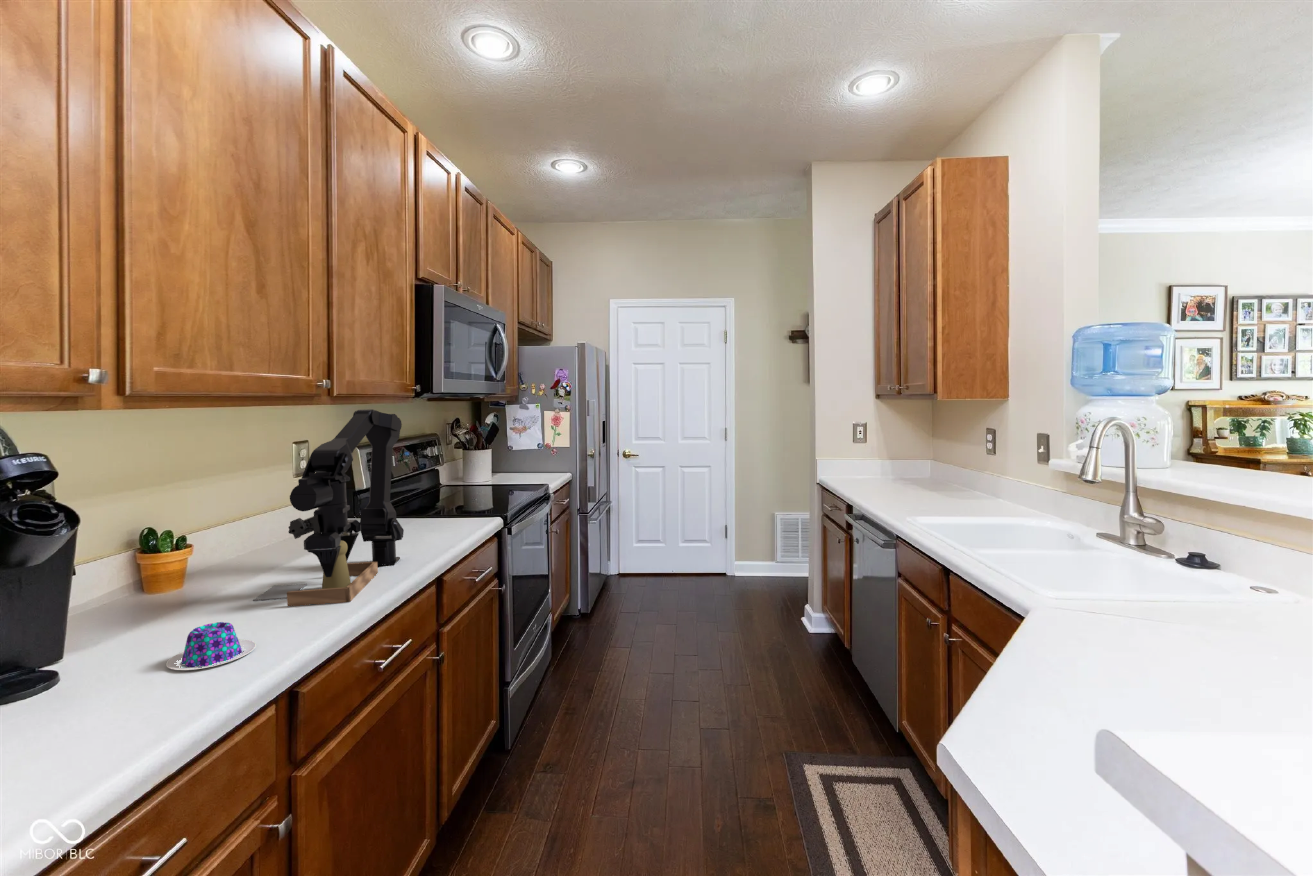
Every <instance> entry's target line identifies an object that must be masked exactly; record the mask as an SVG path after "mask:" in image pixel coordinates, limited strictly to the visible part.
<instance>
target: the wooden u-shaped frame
mask: <svg viewBox="0 0 1313 876" xmlns="http://www.w3.org/2000/svg"><path fill="white" fill-rule="evenodd" d="M347 566H348V571H349V576H350V577H355V579H353V580H352V581H351V583H350V584H349V585H348V586H347V587H343V588H329V589H322V588H318V589H317V588H316V589H303V590H302V589H301V590H299V591H288V592H287V599H286V603H287V605H286V606H287V607H288V606H290V607H301V606H300V605H303V606H310V605H309V604H317V605H326V604H325V603H330V604H338V603H339V604H342V603H350V602H351V601H353V600H354V598H356V597H357V595H358V594H359V593H361V591H362V590H363V589H364V588H365V587H366V586H367V585H368V584H369V583H370V582H372V580H373V579H374V578H375V577H376V576H377V575H378V574H379V571H378V570H379V569H378V568H379V567H378V564H377V562H371V561H367V562H352V563H351V562H350V563H349V562H347ZM377 573H378V574H377ZM376 574H377V575H376ZM374 576H375V577H374ZM371 579H372V580H371Z"/></svg>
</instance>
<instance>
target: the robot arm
mask: <svg viewBox="0 0 1313 876" xmlns="http://www.w3.org/2000/svg"><path fill="white" fill-rule="evenodd" d="M402 425H403V424H402V420H401V418H400V417H398V415H397V414H395V413H385V412H381V411H378V410H375V409H370V408H369V409H357V410H355V411H354V412H353V415H352V417H351V418H350V420H348V421H347V423H346V424H345V425H344V426H343V427H342V429H341V430H340V431H339V432H338V433H337V434H336V435H335V437H333V439H331V440H329V441H327V442H324V443H321V444H320V445H318V446H317V447H316V448H314V449H313V451H312V452H311V453H310V456H309V458H308V460H307V464H306V466H305V468H304V471H303V473H302V476H301V478H299V479H298V481H297V482H298V484H297V485H296V486H295V487H293V489H292V490H291V492H290V495H289V501H290V504H291V506H292V507H293V508H294V509H295V510H297V511H300V512H309V511H311V510H314V511H313V515H312V516H311V517H308V518H305V519H303V518H301V517H298V518H296V519H292V520H291V521H289V526H288V529H289V530H288V532H287V533H288V534H289V535H293V538H294V539H295V540H297V539H299V538H301V537H302V536H304V535H307V534H309V533H312V532H313V533H312V534H310V535H308V536H307V537H306V538H305V539H304V540H303V550H304V551H307V552H308V553H311V554H313V555H314V556H316V557H317V560H318V561H319V564H320V566H321V569H322V571H324V574H325V576H326V577H331V576H332V574H333V571H334V568H335V564H336V561H337V558H338V554H339V551H340V548H341V546H339V545H340V542H341V540H342V541H345V542H346V543H347V546H348V549H347V552H346V554H345V556H346V561H347V562H348V559H349V557H350V555H351V552H352V550H353V547H354V545H355V543H356V541H357V538H358V536H359V535H360V534H361V538H362V540H363V542H364V543H365V542H371V555H372V556H371V557H372V558H371V559H372V560H371V561H370V562H377V564H378V566H391V565H392V566H393V565H396V564H395V563H397V562H399V560H401V557H400V556H397V548H396V541H401V540H403V538H404V533H405V532H404V528H403V526H402V525H401V524H400V522H399V521H398V519H397V511H396V510H395V507H394V506H393V504H392V503H391V486H392V485H391V484H392V467H393V466H392V463H393V462H392V461H393V449H394V448H393V447H394V446H395V444H396V443H397V442H398V440H399V439H400V436H401V435H400V434H401V429H402ZM364 438H366V439H367V440H368V443H369V444H370V445H371V460H370V461H371V462H370V463H371V464H370V484H369V502H368V504H367V505H366V507H365V508H361V510H360V513H359V515H360V521H359V520H358V519H348V518H349V517H348V511H350V510H351V506H350V505H348V502H347V501H348V500H347V482H349V481H351V477H350V476H348V475H347V474H346V472H347V471H348V470H349V468H350V467H351V464H352V463H353V462H354V457H353V453H354V450H355V449H356V448H357V447H358V445H359V444H360V443H361V442H362V440H363V439H364ZM359 532H360V533H359Z"/></svg>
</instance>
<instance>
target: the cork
mask: <svg viewBox="0 0 1313 876" xmlns="http://www.w3.org/2000/svg"><path fill="white" fill-rule="evenodd" d="M339 546H341V548H340V551H339V554H338V558H337V561H336V564H335V568H334V571H333V574H332V576H331V577H326V576H325V574H324V571H323V570H322V571H323V572H322V580H321V589H329V588H343V587H347V586H348V585H349V584H350V583H351V582H352V581H351V578H350V577H351V576H349V571H348V566H347V563H348V560H347V561H346V556H345V554H346V552H347V549H348V546H347V543H346V542H345V541H342V540H341V542H340V545H339Z"/></svg>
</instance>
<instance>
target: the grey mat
mask: <svg viewBox="0 0 1313 876" xmlns="http://www.w3.org/2000/svg"><path fill="white" fill-rule="evenodd" d="M307 585H308V583H294V584H293V583H292V584H280V585H279V584H278V585H273V586H271V587H269V588H268V589H267V590H265V591H264V592H262V593H260V594H259V595H258V596H256V597H254V598H253V599H252V601H253V602H257V601H258V600H261V601H269V600H268V599H274V600H287V592H288V591H300V589H301V588H302V589H303V588H304V586H305V587H306V586H307ZM302 589H301V590H302Z"/></svg>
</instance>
